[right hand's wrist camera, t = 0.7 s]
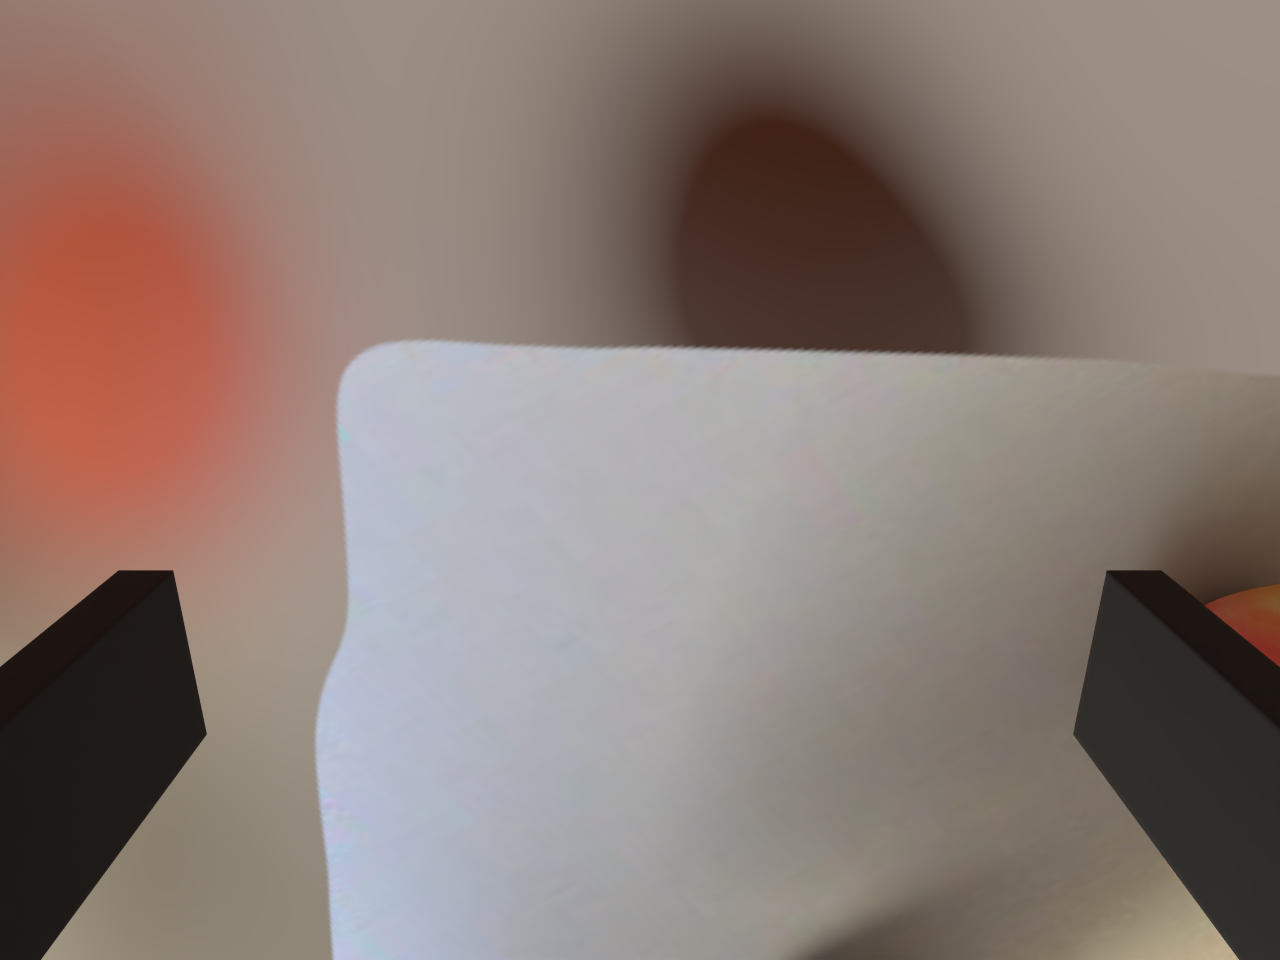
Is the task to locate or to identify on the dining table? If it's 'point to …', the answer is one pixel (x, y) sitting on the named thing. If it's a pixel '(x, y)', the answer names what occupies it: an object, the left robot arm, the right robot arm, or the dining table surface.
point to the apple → (1253, 617)
